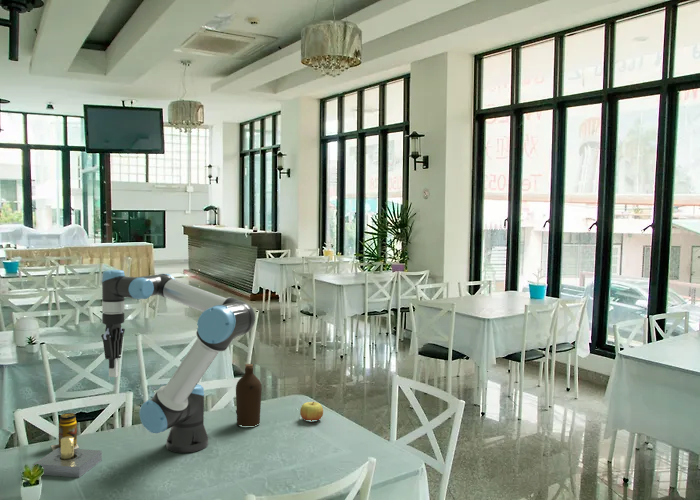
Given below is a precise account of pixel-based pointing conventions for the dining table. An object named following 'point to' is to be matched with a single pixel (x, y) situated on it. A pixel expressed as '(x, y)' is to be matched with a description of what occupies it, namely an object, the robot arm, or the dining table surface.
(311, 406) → the apple
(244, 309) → the robot arm
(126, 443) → the dining table surface
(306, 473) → the dining table surface
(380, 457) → the dining table surface
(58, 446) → the condiment
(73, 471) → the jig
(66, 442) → the yellow cylinder
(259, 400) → the olive oil
